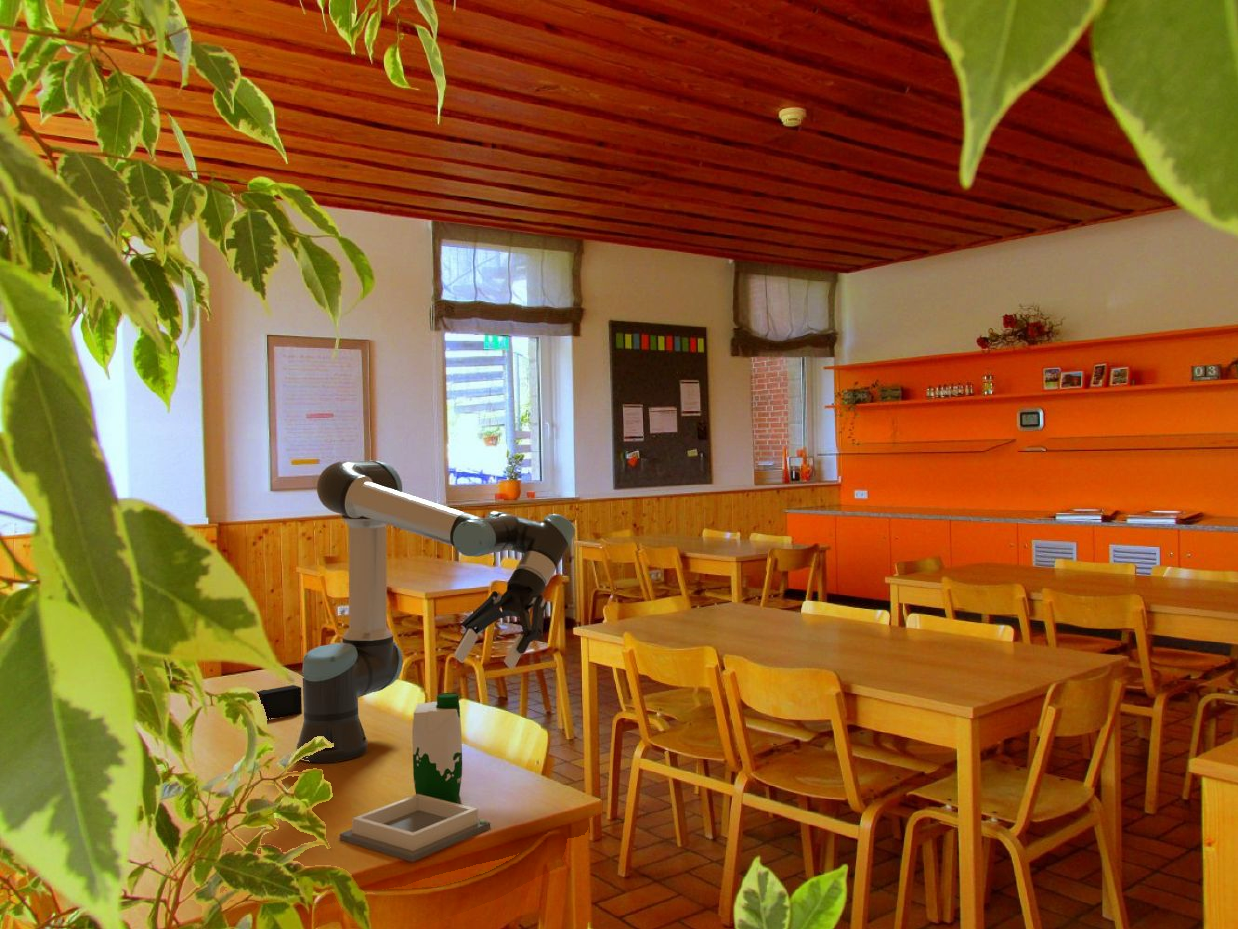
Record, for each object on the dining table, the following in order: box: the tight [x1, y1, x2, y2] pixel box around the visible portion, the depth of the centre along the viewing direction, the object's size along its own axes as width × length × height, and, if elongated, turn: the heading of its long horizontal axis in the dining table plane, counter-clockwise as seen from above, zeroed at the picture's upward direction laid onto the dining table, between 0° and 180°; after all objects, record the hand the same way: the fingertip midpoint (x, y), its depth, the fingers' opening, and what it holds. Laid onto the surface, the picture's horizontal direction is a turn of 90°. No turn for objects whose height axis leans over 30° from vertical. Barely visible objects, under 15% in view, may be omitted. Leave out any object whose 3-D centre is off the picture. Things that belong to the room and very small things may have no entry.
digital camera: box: [256, 684, 303, 721], centre depth 263 cm, size 10×5×7 cm, turn 134°
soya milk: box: [411, 692, 463, 804], centre depth 193 cm, size 9×9×20 cm
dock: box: [339, 793, 491, 863], centre depth 176 cm, size 18×18×4 cm
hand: (482, 662), depth 203 cm, fingers open, 13 cm apart
